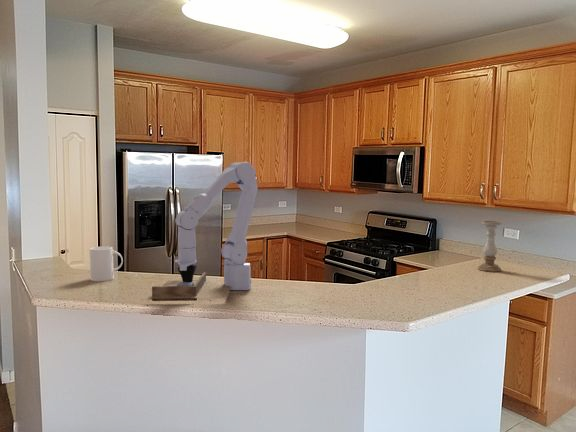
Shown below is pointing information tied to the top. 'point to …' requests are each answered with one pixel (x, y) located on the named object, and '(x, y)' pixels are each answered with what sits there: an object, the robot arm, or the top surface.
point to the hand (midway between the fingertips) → (187, 287)
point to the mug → (102, 263)
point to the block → (186, 284)
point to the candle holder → (490, 248)
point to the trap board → (178, 290)
